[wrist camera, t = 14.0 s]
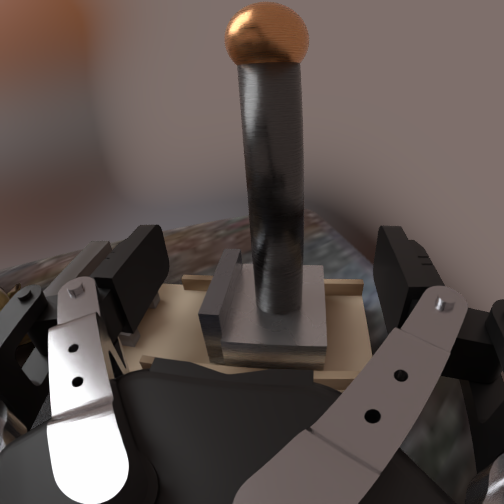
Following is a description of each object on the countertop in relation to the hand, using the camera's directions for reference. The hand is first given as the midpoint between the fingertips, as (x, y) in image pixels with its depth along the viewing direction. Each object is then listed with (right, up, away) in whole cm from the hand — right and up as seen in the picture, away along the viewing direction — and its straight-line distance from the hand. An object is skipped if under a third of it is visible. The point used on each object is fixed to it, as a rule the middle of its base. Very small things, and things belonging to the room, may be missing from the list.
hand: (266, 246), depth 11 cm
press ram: (+1, -6, +11) cm, 12 cm away
